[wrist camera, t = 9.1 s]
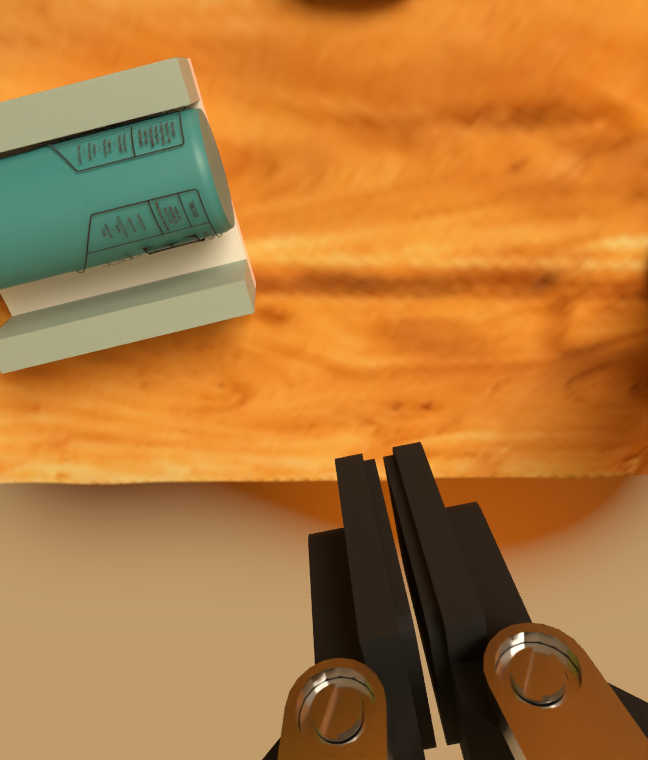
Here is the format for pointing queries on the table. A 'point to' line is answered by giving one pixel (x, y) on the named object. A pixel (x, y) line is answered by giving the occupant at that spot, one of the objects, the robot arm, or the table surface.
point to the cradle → (130, 278)
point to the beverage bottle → (111, 196)
